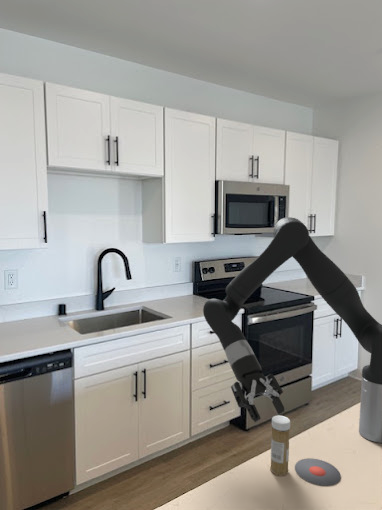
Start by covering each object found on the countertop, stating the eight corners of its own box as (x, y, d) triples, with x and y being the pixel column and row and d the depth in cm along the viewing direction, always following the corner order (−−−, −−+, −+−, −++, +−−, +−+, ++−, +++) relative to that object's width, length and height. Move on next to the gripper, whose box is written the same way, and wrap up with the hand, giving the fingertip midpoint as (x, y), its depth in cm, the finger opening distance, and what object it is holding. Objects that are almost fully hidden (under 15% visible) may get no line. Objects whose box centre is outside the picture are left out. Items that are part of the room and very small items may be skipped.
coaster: (314, 454, 105) (314, 453, 105) (350, 476, 95) (350, 476, 95) (285, 466, 99) (285, 466, 99) (321, 491, 89) (321, 491, 89)
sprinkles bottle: (292, 472, 96) (294, 420, 95) (279, 478, 94) (281, 425, 93) (278, 463, 100) (280, 413, 99) (265, 469, 98) (267, 417, 97)
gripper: (229, 357, 102) (257, 417, 93) (268, 349, 110) (297, 404, 101) (216, 370, 107) (241, 429, 98) (254, 362, 115) (281, 416, 106)
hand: (270, 416), depth 100 cm, fingers open, 8 cm apart
